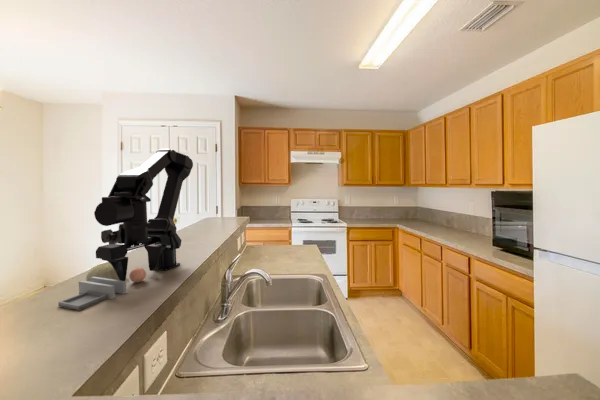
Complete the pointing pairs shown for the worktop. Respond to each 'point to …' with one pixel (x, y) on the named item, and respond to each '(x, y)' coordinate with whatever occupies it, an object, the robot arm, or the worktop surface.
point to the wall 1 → (97, 288)
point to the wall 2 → (111, 283)
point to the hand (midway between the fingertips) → (138, 275)
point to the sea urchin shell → (102, 272)
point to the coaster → (82, 300)
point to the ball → (137, 275)
